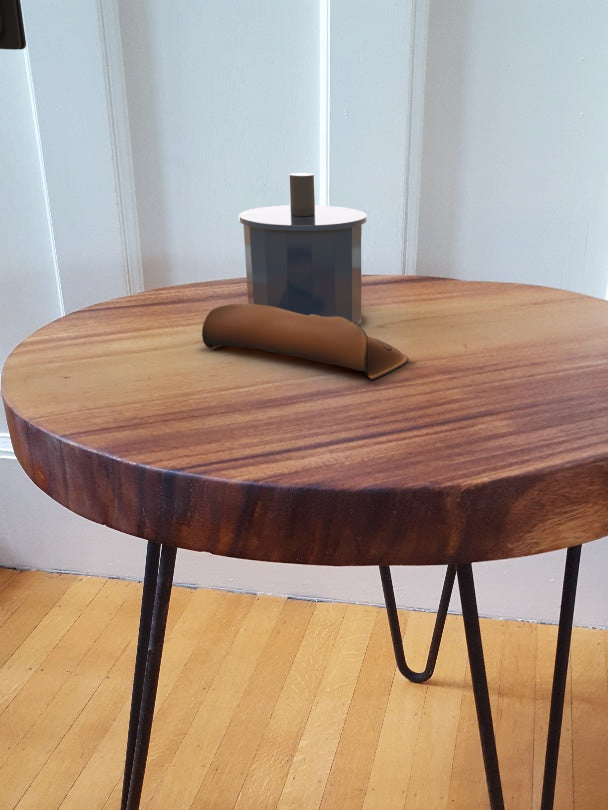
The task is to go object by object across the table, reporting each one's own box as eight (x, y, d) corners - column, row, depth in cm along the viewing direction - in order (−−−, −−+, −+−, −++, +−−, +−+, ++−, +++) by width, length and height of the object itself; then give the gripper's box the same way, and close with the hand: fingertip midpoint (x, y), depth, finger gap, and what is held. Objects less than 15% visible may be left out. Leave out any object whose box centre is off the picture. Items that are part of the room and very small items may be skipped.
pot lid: (295, 243, 86) (294, 186, 83) (213, 225, 93) (209, 173, 91) (393, 227, 93) (394, 175, 91) (309, 212, 100) (308, 163, 98)
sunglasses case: (415, 354, 86) (398, 295, 81) (381, 411, 84) (360, 355, 78) (256, 326, 94) (230, 270, 88) (220, 378, 92) (191, 324, 86)
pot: (299, 342, 91) (296, 235, 86) (227, 319, 98) (220, 219, 93) (384, 321, 98) (385, 221, 93) (311, 302, 105) (308, 207, 100)
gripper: (-64, -277, 65) (-14, 45, 75) (-175, -352, 52) (-97, 47, 62) (47, -272, 65) (82, 50, 75) (-38, -346, 52) (18, 52, 62)
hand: (1, 47), depth 69 cm, fingers closed
